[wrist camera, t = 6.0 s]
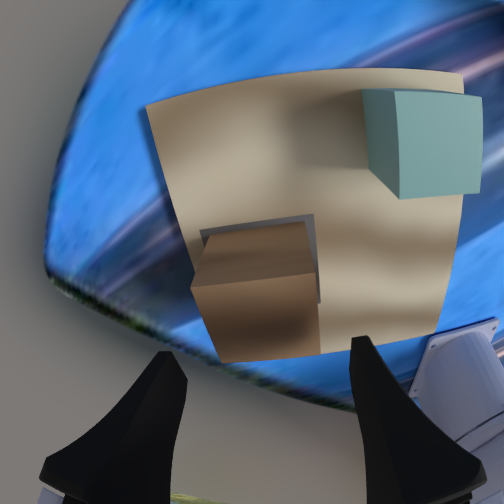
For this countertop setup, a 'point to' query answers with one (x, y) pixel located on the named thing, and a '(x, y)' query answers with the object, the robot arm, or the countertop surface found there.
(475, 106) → the teal block
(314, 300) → the walnut block
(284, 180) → the baseplate
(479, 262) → the countertop surface
